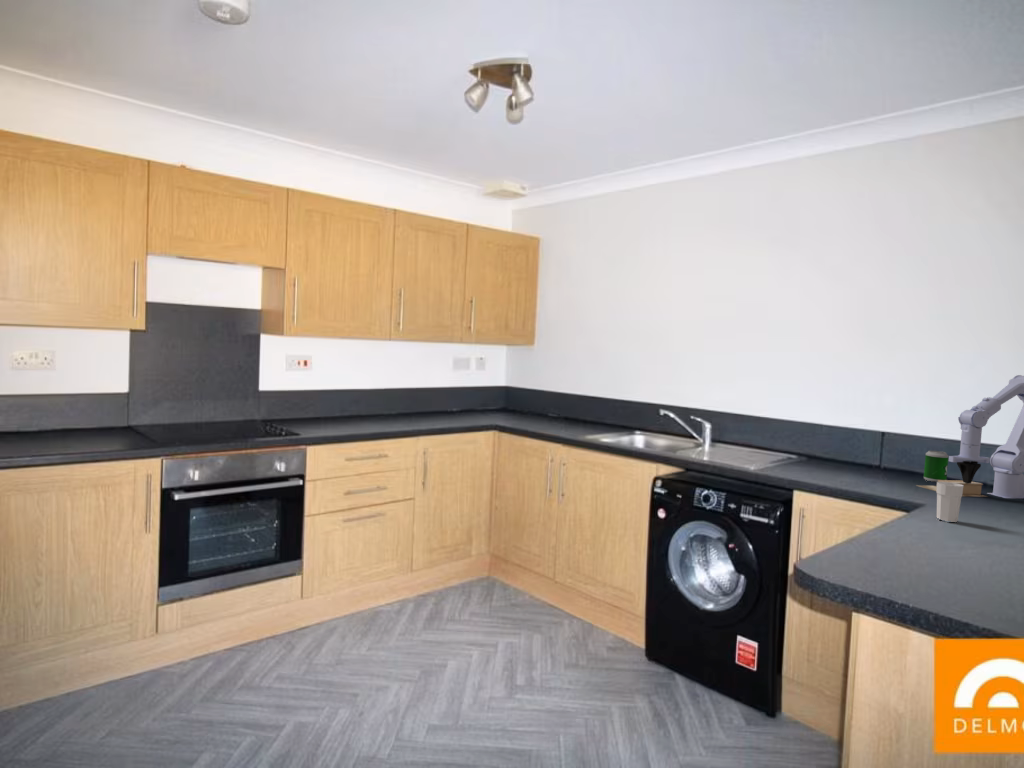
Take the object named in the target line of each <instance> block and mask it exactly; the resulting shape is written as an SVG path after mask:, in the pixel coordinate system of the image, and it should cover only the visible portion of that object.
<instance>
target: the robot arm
mask: <svg viewBox="0 0 1024 768" xmlns="http://www.w3.org/2000/svg"><path fill="white" fill-rule="evenodd" d="M1016 396H1017V397H1018V399H1019V400H1021V401H1022V403H1023V405H1022V407H1021V409H1020V412H1019V413H1018V417H1017V418H1016V420H1015V423H1014V424H1013V427H1012V429H1011V431H1010V434H1009V436H1008V438H1007V439H1006V443H1003V444H1001V445H1000V446H998V447H997V448H996V450H995V451H994V452H993V453H992V454H991V456H990V457H986V456H980V454H981V443H982V432H983V431H982V430H983V427H986V425H987V424H988V421H989V419H990V418H991V417H992V416H994V415H995V414H997V413H999V412H1000V411H1001V409H1002V405H1003V404H1004V403H1007V402H1008V401H1010V400H1012V399H1013V398H1015V397H1016ZM957 419H958V422H959V424H960V429H961V435H960V447H959V448H960V449H959V454H958V455H948V456H949V457H948V463H949V462H951V463H956V465H957V467H958V469H959V470H960V473H961V477H962V480H963V482H965V483H971V482H973V479H974V476H975V475H976V473H977V472H978V470H979V469H980V468H981V466H982V464H981V463H984V464H990V466H991V467H992V468H993V471H994V479H993V480H994V481H993V490H992V492H987V494H989V495H992V496H996V497H999V498H1003V499H1024V474H1023V473H1024V375H1021V374H1018V375H1017V374H1016V375H1014V377H1012V378H1010V379H1009V381H1008V384H1007V385H1005V386H1004V387H1003V388H1002V389H1001V390H1000V391H999V392H997V393H996V394H995V395H994V396H993V397H991V396H990V397H989V396H988V397H983V398H982V399H981V401H980V402H979V403H977V404H976V405H974V406H972V407H971V409H966V410H963V411H961V413H960V414H959V416H958V418H957Z"/></svg>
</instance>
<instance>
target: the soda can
mask: <svg viewBox="0 0 1024 768" xmlns="http://www.w3.org/2000/svg"><path fill="white" fill-rule="evenodd" d="M949 456H950V455H948V453H947V452H945V451H940V450H939V451H938V450H928V451H927V452H925V459H924V468H923V469H924V470H923V480H925V481H926V480H927V481H931V483H932V482H934V483H937V482H938V480H948V479H947V478H948V476H947V475H948V468H949V467H948V466H949ZM927 481H926V482H927Z"/></svg>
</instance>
